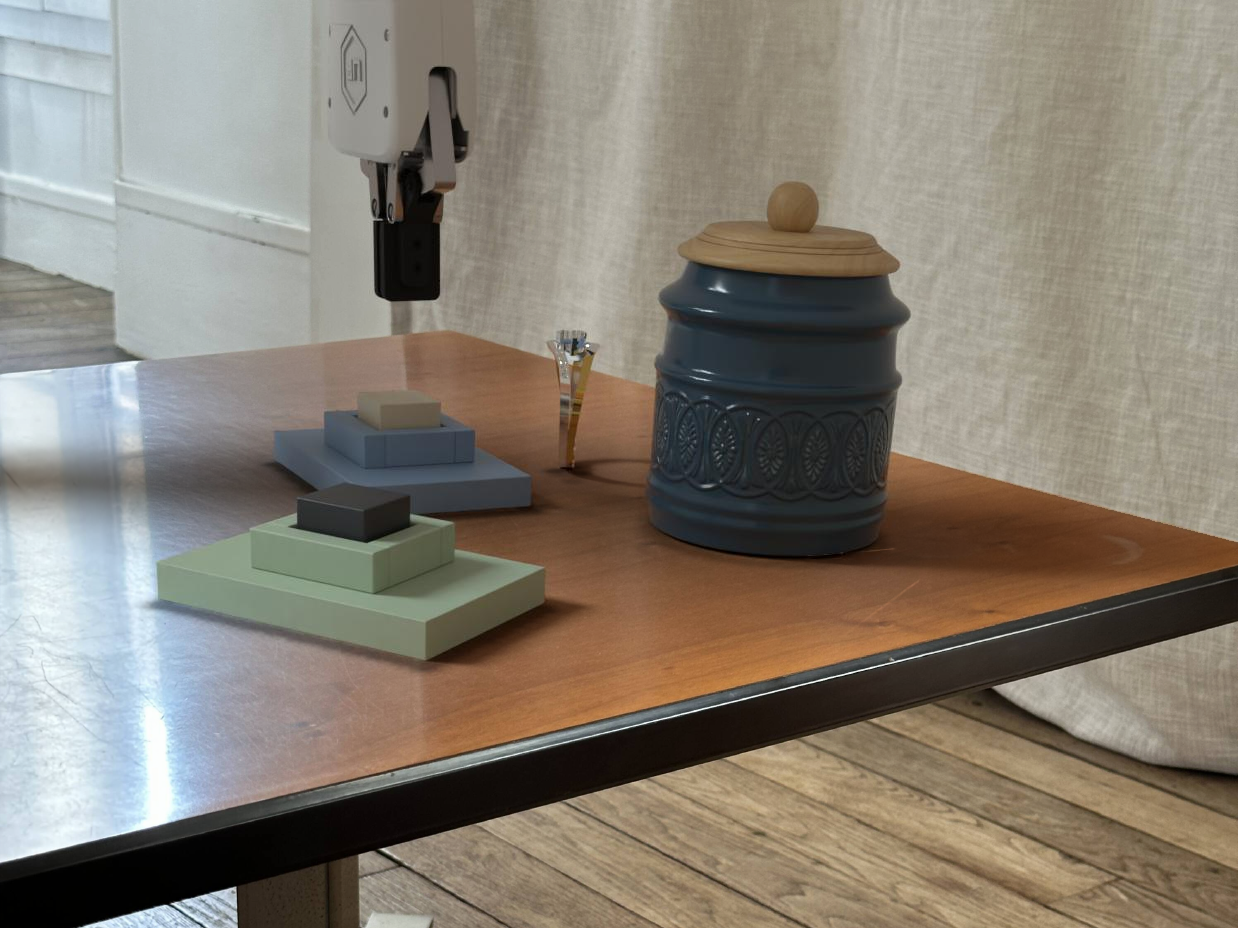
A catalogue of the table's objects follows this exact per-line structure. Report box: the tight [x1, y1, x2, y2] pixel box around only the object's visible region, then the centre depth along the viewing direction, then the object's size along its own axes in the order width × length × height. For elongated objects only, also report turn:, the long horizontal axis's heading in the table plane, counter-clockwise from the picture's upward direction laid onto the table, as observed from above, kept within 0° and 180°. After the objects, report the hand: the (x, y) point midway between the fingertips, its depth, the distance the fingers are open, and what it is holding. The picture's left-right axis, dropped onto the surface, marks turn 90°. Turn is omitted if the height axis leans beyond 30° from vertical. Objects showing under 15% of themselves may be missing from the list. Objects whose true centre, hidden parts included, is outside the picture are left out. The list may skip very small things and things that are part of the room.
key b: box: [356, 389, 442, 430], centre depth 98 cm, size 4×4×2 cm
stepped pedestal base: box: [155, 512, 547, 662], centre depth 78 cm, size 14×10×4 cm
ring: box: [545, 329, 601, 470], centre depth 104 cm, size 7×3×8 cm, turn 177°
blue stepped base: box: [273, 409, 533, 516], centre depth 99 cm, size 14×10×4 cm
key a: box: [296, 482, 410, 543], centre depth 77 cm, size 4×4×2 cm
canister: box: [644, 180, 912, 557], centre depth 91 cm, size 13×13×18 cm
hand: (407, 297), depth 95 cm, fingers closed
